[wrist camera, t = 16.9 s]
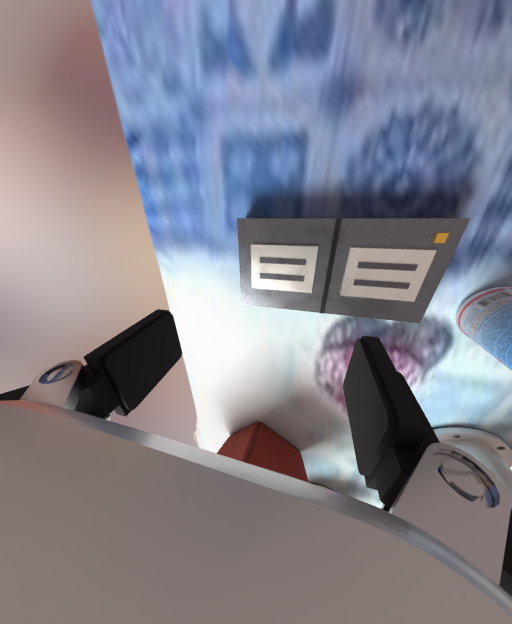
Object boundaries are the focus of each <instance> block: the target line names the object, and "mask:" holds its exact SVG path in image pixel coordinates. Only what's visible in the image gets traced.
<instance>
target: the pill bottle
mask: <svg viewBox="0 0 512 624" xmlns="http://www.w3.org/2000/svg"><path fill="white" fill-rule="evenodd" d="M456 324H457V326H458V328H459V329H460V330H461V331H462V332H463V333H464V334H466V335H467V336H468V337H469V338H471V339H472V340H473V341H475V342H476V343H477V344H479V345H480V346H481V347H482V348H484V349H485V350H486V351H488V352H489V353H490V354H492V355H493V356H494V357H495V358H497V359H498V360H499V361H500V362H502V363H503V364H504V365H506V366H507V367H508V368H509V369H511V370H512V287H495V288H490V289H486V290H483V291H481V292H478V293H476V294H474V295H473V296H471V297H469V298H468V299H467V300H465V301H464V302H463V303H462V305H461V306H460V307H459V309H458V311H457V314H456Z"/></svg>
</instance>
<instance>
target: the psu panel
mask: <svg viewBox="0 0 512 624" xmlns="http://www.w3.org/2000/svg"><path fill="white" fill-rule="evenodd" d="M469 220H470V218H452V217H312V218H238V219H237V223H238V243H239V263H240V282H241V302H242V304H244V305H253V306H263V307H272V308H282V309H291V310H301V311H310V312H319V313H329V314H338V315H348V316H357V317H367V318H376V319H386V320H395V321H405V322H414V323H420V322H421V320H422V318H423V316H424V314H425V312H426V309H427V307H428V305H429V303H430V301H431V299H432V297H433V295H434V293H435V291H436V289H437V287H438V285H439V283H440V280H441V278H442V276H443V274H444V272H445V270H446V268H447V266H448V264H449V262H450V260H451V258H452V256H453V253H454V251H455V249H456V247H457V245H458V243H459V241H460V239H461V237H462V235H463V233H464V231H465V229H466V227H467V224H468V222H469Z"/></svg>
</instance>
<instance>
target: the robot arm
mask: <svg viewBox="0 0 512 624" xmlns="http://www.w3.org/2000/svg"><path fill="white" fill-rule="evenodd" d="M181 355H182V350H181V346H180V342H179V338H178V334H177V330H176V326H175V322H174V318H173V315H172V314H171V313H170V312H169V311H167V310H156V311H154V312H153V313H151V314H150V315H148V316H147V317H145V318H143V319H142V320H140V321H139V322H137V323H136V324H134V325H132V326H131V327H129V328H128V329H126V330H125V331H123V332H122V333H120V334H118V335H117V336H115V337H114V338H112V339H111V340H109V341H107V342H106V343H104V344H103V345H102V346H100V347H98V348H97V349H95V350H93V351H92V352H90V353H89V354H87V355H86V356H84V359H85V360H86V362H87V365H85V366H83V364H82V363H81V361H78V360H70V361H65V362H62V363H58V364H56V365H54V366H52V367H50V368H48V369H46V370H44V371H43V372H42V373H40V374H39V375H38V376H37V377H36V378H35V379H34V381H33V382H32V383H31V385H29V386H26V387H23V388H19V389H16V390H13V391H9V392H6V393H3V394H0V624H512V471H511V469H510V467H511V466H512V450H511V449H510V448H509V447H508V445H507V444H506V443H505V442H504V441H503V440H501V439H500V438H498V437H497V436H495V435H492V434H490V433H487V432H484V431H481V430H476V429H471V428H462V427H447V428H438V429H432V427H431V425H430V423H429V421H428V420H427V418H426V416H425V414H424V412H423V411H422V409H421V407H420V405H419V404H418V402H417V400H416V398H415V396H414V395H413V393H412V391H411V389H410V387H409V386H408V384H407V382H406V380H405V378H404V377H403V375H402V374H401V373H399V372H397V371H396V369H395V367H394V365H393V363H392V361H391V359H390V358H389V356H388V354H387V352H386V350H385V348H384V346H383V345H382V343H381V341H380V339H379V338H377V337H369V336H362V338H361V339H359V338H358V339H357V340H356V343H355V347H354V350H353V353H352V356H351V360H350V363H349V366H348V369H347V373H346V376H345V379H344V384H343V389H344V395H345V400H346V406H347V411H348V416H349V422H350V427H351V433H352V438H353V444H354V449H355V455H356V460H357V466H358V470H359V473H360V474H361V475H364V476H365V481H366V486H367V487H368V488H371V489H375V490H378V493H379V497H380V500H381V502H382V503H383V506H382V508H381V509H380V508H378V507H375V506H372V505H370V504H367V503H365V502H362V501H360V500H357V499H354V498H352V497H349V496H347V495H344V494H341V493H338V492H335V491H332V490H329V489H326V488H323V487H320V486H317V485H314V484H311V483H308V482H305V481H302V480H299V479H296V478H293V477H290V476H286V475H283V474H280V473H277V472H274V471H270V470H267V469H264V468H261V467H258V466H254V465H251V464H248V463H245V462H242V461H238V460H235V459H232V458H229V457H226V456H222V455H219V454H216V453H213V452H210V451H206V450H203V449H200V448H197V447H193V446H190V445H187V444H184V443H180V442H177V441H174V440H171V439H167V438H164V437H161V436H158V435H154V434H151V433H148V432H144V431H141V430H138V429H135V428H131V427H128V426H124V425H121V424H118V423H115V422H111V421H110V417H111V412H112V411H113V410H115V412H116V413H117V414H119V415H122V416H127V415H128V414H129V413H130V412H131V410H133V409H135V408H136V407H137V406H138V405H139V404H140V403H141V401H143V399H144V398H145V397H146V396H147V395H148V394H149V392H151V390H152V389H153V388H154V387H155V386H156V385H157V383H159V381H160V380H161V379H162V378H163V377H164V376H165V375H166V374H167V372H168V371H169V370H170V369H171V368H172V367H173V366H174V365H175V363H176V362H177V361H178V360H179V359H180V358H181Z"/></svg>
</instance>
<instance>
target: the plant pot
mask: <svg viewBox="0 0 512 624" xmlns="http://www.w3.org/2000/svg"><path fill="white" fill-rule="evenodd" d="M217 454H219V455H222V456H226V457H229V458H232V459H235V460H238V461H242V462H245V463H248V464H251V465H254V466H258V467H261V468H264V469H267V470H270V471H274V472H277V473H280V474H283V475H286V476H290V477H293V478H296V479H299V480H302V481H305V482H308V478H307V474H306V471H305V467H304V463H303V460H302V457H301V454H300V451H299V450H297V449H296V448H295V447H293V446H292V445H291V444H289V443H288V442H287V441H285V440H284V439H282V438H281V437H280V436H278V435H277V434H276V433H274V432H273V431H272V430H270V429H269V428H267V427H266V426H265V425H263V424H262V423H258V422H257V423H255V424H253V425H251V426H249V427H247V428H245V429H243V430H241V431H239V432H237V433H235V434H233V435H231V436H230V437H229V438H228V439H227V440H226V442H225V443H224V444H223V446H222V447H221V448H220V450H219V451H218V453H217ZM308 483H309V482H308Z"/></svg>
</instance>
